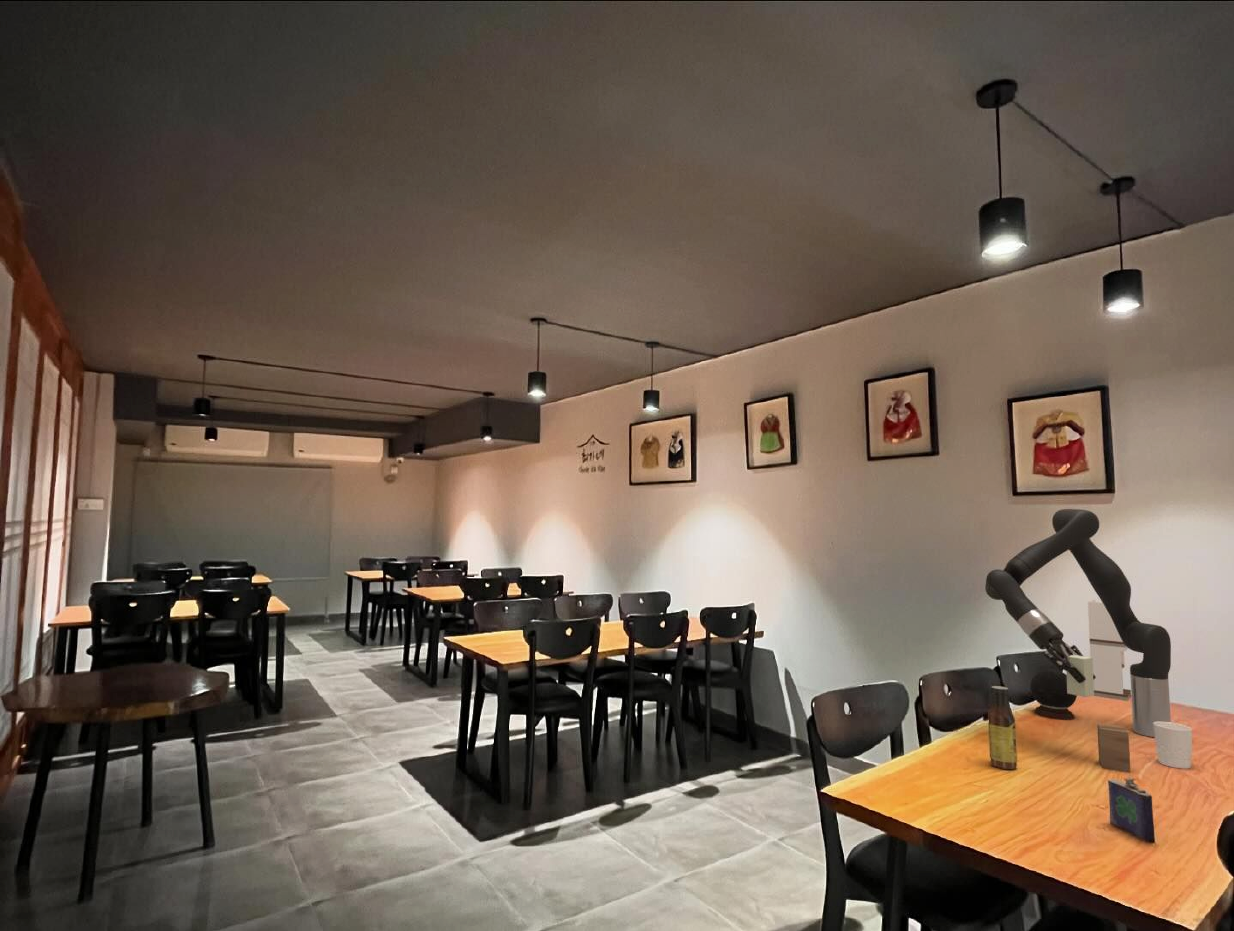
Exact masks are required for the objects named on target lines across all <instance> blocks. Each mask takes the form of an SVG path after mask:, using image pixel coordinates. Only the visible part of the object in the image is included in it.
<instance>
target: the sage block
mask: <svg viewBox="0 0 1234 931" xmlns="http://www.w3.org/2000/svg"><path fill="white" fill-rule="evenodd" d="M1069 658H1070V661H1071V662H1072V663H1073V665H1074V666H1075V667H1076V668H1077V669H1078V670H1079V671H1080V673H1081V674H1082V675H1083V676H1084V677H1085V678H1086V680H1085V681H1084V682H1082V683H1078V682H1077V681H1076V680H1075V679H1074V678H1073V677H1072V675H1071V674H1070V673H1069V672H1066V675H1067V693H1068V694H1073V695H1077V696H1078V697H1083V698H1088V697H1095V696H1094V681H1093V658H1090V656H1084V655H1083V656H1078V655H1071V656H1069Z"/></svg>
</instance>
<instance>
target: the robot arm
mask: <svg viewBox="0 0 1234 931" xmlns="http://www.w3.org/2000/svg"><path fill="white" fill-rule="evenodd" d="M1052 516H1053V517H1052V519H1051V522H1052V528H1053V530H1054V531H1055V533H1054V534H1052V535H1051V536H1049V537H1046V538H1044V539H1042V540H1040V541H1038V542H1035V543H1034V544H1031V545H1029V546H1027V547H1025V548H1024V549H1022V550H1021V551H1020V552H1018V553H1017V554H1016V555H1014V556H1013V557H1012V558H1011V559H1010V560H1008V562H1007V563H1006V565H1005V567H1004V569H1003V570H1002V569H997V568H996V569H993V570H990V571H989V572H988V573H987V576H986V578H985V585H984V586H985V587H984V588H985V589H984V590H985V592H986V594H987V596H988V597H989V598H991V599H992V600H996V601H1002V602H1003V604H1004V606H1005V609H1006V612H1007V613H1008V614H1009V616H1010V617H1012V618H1013V620H1014V621H1015V623H1017V624H1018V625H1019V627H1020V628H1021V630H1022V631H1023V632H1024V633H1025V634H1026V635H1027V637H1028V638H1030V640H1031V641H1032V642H1033V643H1034V644H1035V645H1036V646H1037V647H1038V649H1040V650H1042V651H1044V650H1045V651H1044V652H1042V655H1043V656H1044V657H1045V658H1046V659H1047V660H1048V661H1049V662H1051V663H1052V664H1053V665H1054V666H1056V668H1058V669H1059V671H1061V672H1062V671H1065V673H1067V672H1069V673H1070V674H1071V675H1072V677H1073V678H1074V679H1075V680H1076V681H1077V682H1078V683H1082V682H1084V681H1085V680H1086V678H1085V677H1084V676H1083V675H1082V674H1081V673H1080V671H1079V670H1078V669H1077V668H1076V667H1075V666H1074V665H1073V663H1072V662H1071V661H1070V658H1069V656H1071V655H1078V656H1084V655H1083V654H1082V652H1081V650H1080V649H1079V648H1078V647H1077V646H1076V645H1075V644H1073V645H1071V646H1069V644H1067V642H1065V641H1064V640H1063V638H1064V633H1063V632H1062V631H1061V630H1060V629H1059V628H1058V626H1057V625H1055V623H1053V621H1052V620H1051V619H1050V618H1049V617H1048V616H1047V615H1046V614H1045V613H1044V612H1042V611H1041V610H1040V609H1039V608H1038V607H1037V606H1036V605H1035V603H1034V602H1032V601H1031V600H1030V599H1029V598H1028V596H1027V595H1026V594H1025V592H1024V590H1023V589H1022V587H1021V586H1022V584H1023V583H1024V582H1025V581H1026V580H1028V579H1029V578H1030V577H1032V576H1033V575H1034V574H1035V573H1037V572H1038V571H1039V570H1041V569H1042V568H1043V567H1044V566H1045V565H1047V564H1049V563H1050V562H1051V561H1053V560H1054V559H1056V558H1057V557H1059V556H1060V555H1062V554H1064V553H1065V552H1067V551H1070V553H1071V554H1072V556H1073V557H1074V559H1075V560H1076V562H1077V564H1078V565H1079V567H1080V568H1081V570H1082V572H1083V573H1084V575H1085V576H1086V578H1087V580H1088V582H1089V583H1090V585H1091V587H1092V589H1093V590H1094V591H1095V593H1096V594H1097V596H1098V598H1099V600H1100V601H1101V603H1103V604H1104V606H1105V608H1106V609H1107V611H1108V613H1109V615H1110V616H1111V618H1112V620H1113V623H1114V625H1115V627H1116V629H1117V631H1118V633H1119V635H1120V638H1121V639H1122V641H1123V643H1124V644H1125V645H1126V647H1128V649H1129V650H1130V651H1133V652H1136V653H1141V654H1143V655H1142V660H1141V662H1139V663H1133V664H1130V666H1129V676H1130V677H1129V678H1130V690H1131V696H1130V698H1131V711H1132V712H1131V714H1132V718H1131V719H1132V731H1133V732H1134V733H1137V734H1138V735H1142V736H1146V737H1150V738H1155V734H1154V725H1153V723H1154V722H1171V721H1172V719H1171V704H1170V703H1171V700H1170V687H1169V686H1170V684H1169V674H1170V670H1171V667H1172V664H1171V662H1172V658H1171V657H1172V656H1171V654H1172V645H1171V644H1172V641H1171V637H1170V634H1169V632H1168V630H1167V629H1166V628H1165V627H1163V626H1161V625H1157V624H1152V623H1145V622H1141V621H1140V620H1139V619H1138V618H1137V617H1136V615H1135V613H1134V611H1133V610H1132V607H1131V598H1132V587H1131V584H1130V582H1129V579H1128V578H1127V577H1126V575H1125V574H1124V572H1123V570H1122V569H1121V568H1120V566H1119V565H1118V564H1117V563H1116V562H1115V561H1114V560H1113V559H1112V558H1111V557H1109V556H1108V554H1106V553H1104V552H1103V551H1102V550H1101V549H1100V548H1098V546H1096V545H1095V544H1094V542H1093V541H1092V540H1091V538H1093V537H1094V536H1095V535H1096V534H1097V532H1098V531H1099V529H1100V520H1099V517H1098V516H1097V515H1096V513H1094V512H1093V511H1090V510H1086V509H1076V508H1075V509H1074V508H1063V509H1059V510H1057V511H1055V513H1054V514H1053V515H1052ZM1095 678H1096V676H1095V675H1094V674H1093V680H1094V679H1095ZM1171 723H1172V722H1171Z"/></svg>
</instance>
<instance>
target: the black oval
mask: <svg viewBox="0 0 1234 931" xmlns="http://www.w3.org/2000/svg"><path fill="white" fill-rule="evenodd" d="M1030 680H1031V681H1030V686H1029V688H1030V691H1031V695H1032V696H1033V698H1034V700H1035V701H1036V702H1037V703H1038V704H1039V706H1037V707H1036V708H1034V714H1035V715H1037V716H1040V717H1043V718H1047V719H1051V720H1061V721H1071V720H1074V719H1075V715H1074V714H1073V712H1072V711H1071V710H1069V709H1068V708H1071V707H1072V706H1073V705H1074V703H1075V702H1076V700H1077V695H1073V694H1068V693H1067V673H1066V672H1062V670H1058V669H1055V668H1053V669H1052V668H1047V669H1042V670H1038V672H1036V673H1035V674H1034V675H1033V677H1032V678H1031V679H1030Z"/></svg>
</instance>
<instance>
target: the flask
mask: <svg viewBox="0 0 1234 931" xmlns="http://www.w3.org/2000/svg"><path fill="white" fill-rule="evenodd" d="M1136 780H1137V779H1136V778H1133V777H1131V778H1129V777H1128V778H1126V777H1124V778H1123V781H1125V782H1123V781H1121V780H1117V779H1114V778H1113V779H1108V780H1107V781H1108V782H1107V785H1108V798H1109V799H1108V800H1109V823H1110V824H1111V825H1112V826H1113V827H1114V828H1118V829H1120V830H1122V831H1123V832H1125V833H1126V834H1131V835H1132V836H1133V837H1136V838H1137V839H1139V840H1142V841H1143V842H1145V843H1149V844H1155V843H1156V839H1155V838H1156V837H1155V824H1154V810H1153V796H1152V794H1150V793H1149V792H1147V791H1146V790H1145V789H1144V788H1139V785H1138V784H1137V783H1135V782H1134V781H1136Z"/></svg>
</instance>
